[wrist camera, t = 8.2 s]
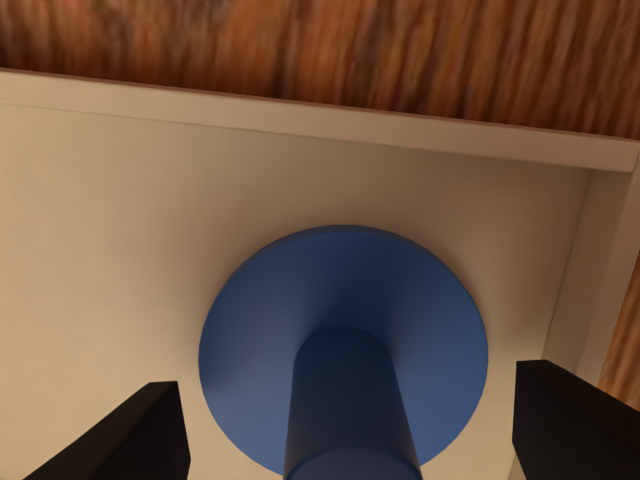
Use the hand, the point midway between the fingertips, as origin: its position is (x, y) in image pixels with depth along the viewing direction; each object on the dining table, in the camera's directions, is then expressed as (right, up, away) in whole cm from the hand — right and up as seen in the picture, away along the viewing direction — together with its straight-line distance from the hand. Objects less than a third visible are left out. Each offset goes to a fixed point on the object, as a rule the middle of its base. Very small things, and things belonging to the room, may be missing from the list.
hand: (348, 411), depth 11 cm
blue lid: (0, +1, +2) cm, 2 cm away
